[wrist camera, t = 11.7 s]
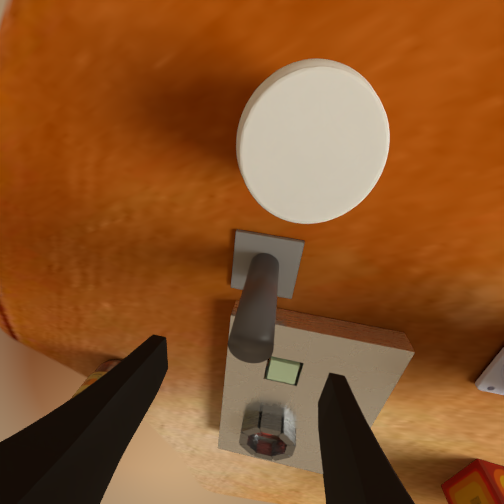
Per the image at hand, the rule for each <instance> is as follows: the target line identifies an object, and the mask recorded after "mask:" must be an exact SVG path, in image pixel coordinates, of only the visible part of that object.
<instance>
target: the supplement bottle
mask: <svg viewBox="0 0 504 504" xmlns="http://www.w3.org/2000/svg"><path fill="white" fill-rule="evenodd" d="M389 141H390V133H389V124H388V119H387V115H386V113H385V110H384V107H383V105H382V103H381V101H380V99H379V97H378V96H377V94H376V92H375V91H374V89H373V88H372V86H371V85H370V84H369V83H368V81H367V80H366V79H365V78H364V77H363V76H362V75H361V74H359V73H358V72H357V71H355V70H354V69H352V68H350V67H349V66H346V65H344V64H342V63H339V62H336V61H332V60H327V59H307V60H301V61H298V62H294V63H292V64H289V65H287V66H285V67H283V68H281V69H279V70H277V71H276V72H275V73H273V74H272V75H271V76H269V77H268V78H267V79H266V80H265V81H264V82H262V83H261V84H260V85H259V87H258V88H257V89H256V90H255V92H254V93H253V94H252V96H251V97H250V99H249V101H248V102H247V104H246V106H245V108H244V110H243V113H242V115H241V118H240V121H239V125H238V130H237V138H236V154H237V161H238V165H239V169H240V172H241V175H242V177H243V179H244V181H245V184H246V186H247V188H248V190H249V191H250V193H251V194H252V196H253V197H254V198H255V200H256V201H257V202H258V203H259V204H260V205H261V206H262V207H263V208H264V209H266V210H267V211H268V212H270V213H271V214H273V215H275V216H277V217H279V218H281V219H283V220H286V221H290V222H295V223H302V224H312V223H320V222H324V221H328V220H332V219H334V218H337V217H339V216H341V215H343V214H345V213H346V212H348V211H349V210H351V209H353V208H354V207H355V206H357V205H358V204H359V203H360V202H361V201H362V200H363V199H364V198H365V197H366V196H367V195H368V194H369V193H370V191H371V190H372V189H373V187H374V186H375V184H376V183H377V181H378V179H379V177H380V175H381V173H382V171H383V168H384V166H385V163H386V160H387V155H388V150H389Z"/></svg>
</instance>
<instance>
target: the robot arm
mask: <svg viewBox="0 0 504 504" xmlns="http://www.w3.org/2000/svg"><path fill="white" fill-rule="evenodd" d="M167 370H168V360H167V343H166V337H162V336H157V335H152V336H150V337H149V338H148V339H147V340H146V341H145V342H143V343H142V344H141V345H140V346H139V347H138V348H136V349H135V350H134V351H133V352H132V353H130V354H129V355H128V356H127V357H126V358H124V359H123V360H122V361H121V362H119V363H118V364H117V365H116V366H114V367H113V368H112V369H111V370H109V371H108V372H107V373H106V374H104V375H103V376H102V377H100V378H99V379H98V380H96V381H95V382H94V383H92V384H91V385H90V386H88V387H87V388H86V389H84V390H83V391H82V392H80V393H79V394H77V395H76V396H74V397H73V398H72V399H70V400H69V401H67V402H66V403H64V404H63V405H61V406H60V407H58V408H57V409H55V410H54V411H52V412H50V413H49V414H47V415H46V416H44V417H43V418H41V419H39V420H38V421H36V422H34V423H33V424H31V425H29V426H28V427H26V428H24V429H23V430H21V431H19V432H18V433H16V434H14V435H12V436H11V437H9V438H7V439H5V440H3V441H2V442H0V504H100V502H101V500H102V498H103V495H104V493H105V491H106V489H107V486H108V485H109V483H110V480H111V478H112V476H113V474H114V472H115V470H116V467H117V465H118V463H119V461H120V459H121V457H122V455H123V453H124V451H125V450H126V448H127V446H128V444H129V442H130V440H131V439H132V437H133V435H134V433H135V432H136V430H137V428H138V426H139V425H140V423H141V421H142V419H143V418H144V416H145V414H146V412H147V411H148V409H149V407H150V405H151V403H152V402H153V400H154V398H155V396H156V394H157V392H158V390H159V388H160V386H161V384H162V381H163V379H164V377H165V374H166V372H167ZM475 386H476V387H477V388H478V389H479V390H482V391H486V392H491V393H496V394H501V395H504V347H503V349H502V350H501V351H500V352H499V353H498V355H497V356H496V357H495V358H494V360H493V361H492V362H491V363H490V365H489V366H488V367H487V368H486V370H485V371H484V372H483V373H482V374H481V376H480V377H479V378H478V379H477V381H476V382H475ZM318 432H319V442H320V451H321V460H322V469H323V478H324V487H325V495H326V504H415V503H414V502H413V500H412V498H411V497H410V495H409V494H408V492H407V491H406V489H405V488H404V486H403V484H402V483H401V481H400V479H399V478H398V476H397V474H396V473H395V471H394V470H393V468H392V466H391V464H390V463H389V461H388V459H387V457H386V456H385V454H384V452H383V451H382V449H381V447H380V445H379V443H378V442H377V440H376V438H375V436H374V434H373V432H372V430H371V428H370V427H369V425H368V423H367V421H366V419H365V417H364V415H363V413H362V411H361V409H360V407H359V405H358V403H357V401H356V399H355V396H354V394H353V392H352V390H351V388H350V386H349V384H348V381H347V379H346V377H345V376H344V375H339V374H335V373H330V372H329V375H328V377H327V380H326V383H325V385H324V388H323V390H322V393H321V396H320V398H319V401H318Z"/></svg>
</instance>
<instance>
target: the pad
mask: <svg viewBox="0 0 504 504" xmlns="http://www.w3.org/2000/svg"><path fill="white" fill-rule="evenodd" d="M299 366H300V362H296V361H292V360H287V359H282V358H277V357H273V356H271V357H270V359H269V366H268V375H267V379H271V380H276V381H280V382H285V383H290V384H294V383H295V380H296V376H297V373H298V370H299Z"/></svg>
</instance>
